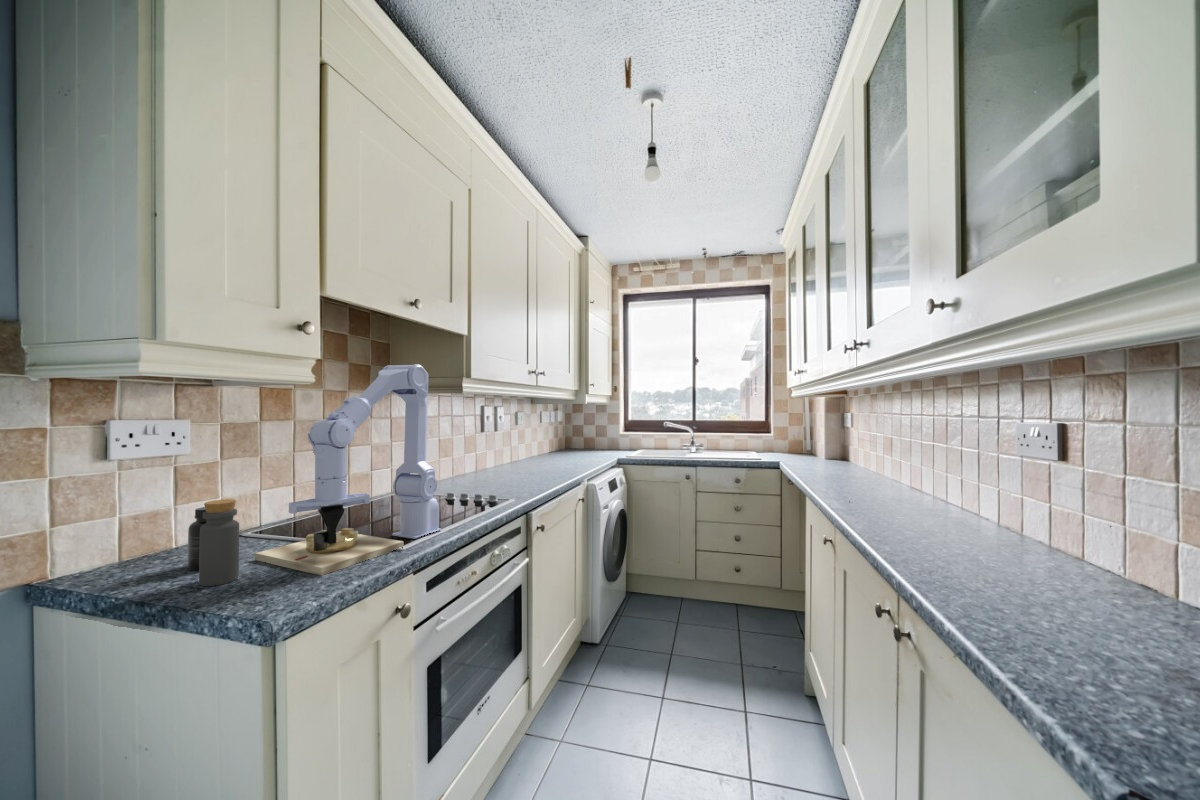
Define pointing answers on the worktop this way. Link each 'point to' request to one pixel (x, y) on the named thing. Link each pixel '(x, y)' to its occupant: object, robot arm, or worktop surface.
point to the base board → (327, 555)
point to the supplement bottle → (195, 539)
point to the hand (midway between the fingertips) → (330, 542)
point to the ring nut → (343, 542)
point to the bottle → (219, 544)
